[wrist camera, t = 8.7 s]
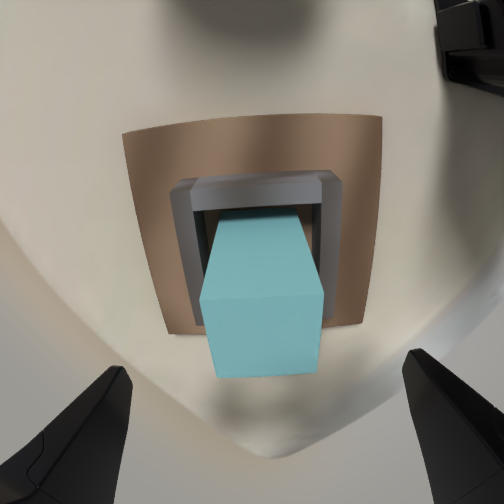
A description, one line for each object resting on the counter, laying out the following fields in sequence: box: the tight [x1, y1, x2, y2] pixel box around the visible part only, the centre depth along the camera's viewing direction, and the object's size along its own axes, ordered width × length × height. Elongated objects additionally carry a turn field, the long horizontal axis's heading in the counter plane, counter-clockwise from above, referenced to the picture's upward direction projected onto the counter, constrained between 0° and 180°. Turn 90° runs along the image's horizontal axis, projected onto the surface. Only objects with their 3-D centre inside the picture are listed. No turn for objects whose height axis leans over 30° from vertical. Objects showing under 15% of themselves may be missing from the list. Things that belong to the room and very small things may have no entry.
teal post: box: [199, 207, 324, 378], centre depth 14 cm, size 4×4×8 cm
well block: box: [122, 114, 382, 334], centre depth 17 cm, size 14×14×4 cm
